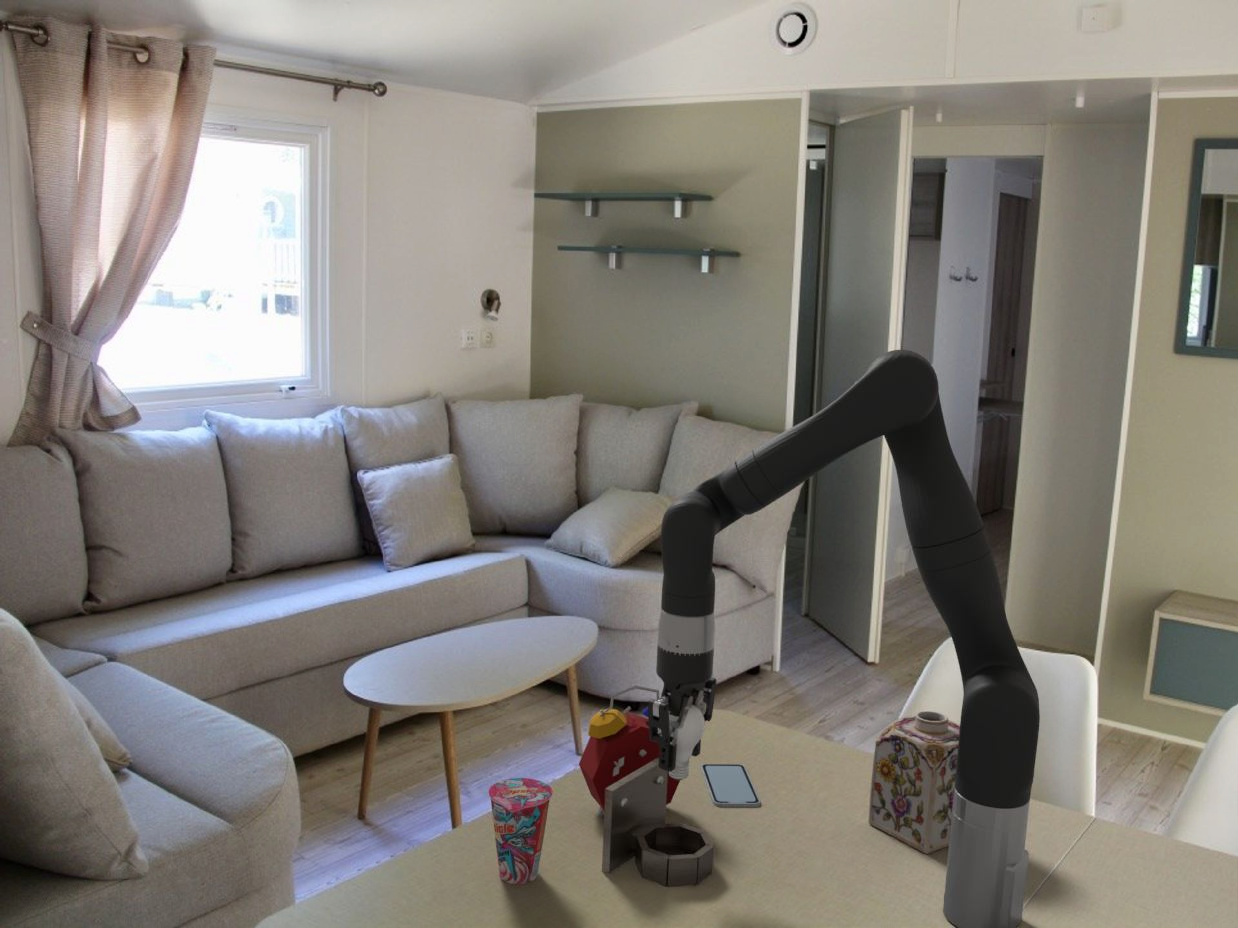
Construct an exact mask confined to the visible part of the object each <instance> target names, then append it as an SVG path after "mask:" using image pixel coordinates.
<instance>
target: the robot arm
mask: <svg viewBox="0 0 1238 928" xmlns="http://www.w3.org/2000/svg"><path fill="white" fill-rule="evenodd" d="M935 370H936V369H935V368H934V367H933V365H932V364H931V362H930V361H928V359H926V358H925V356H922V355H921V354H919V353H918V352H915V351H912V350H909V349H893V350H890V351H889V350H888V351H886V352H885V353H883V354H881V355H880V356H878V357H877V358H876V359H874V360H873V362H871V364H870V365H869V366H868V367H867V369H866V371H865V373H864V374H863V375H862V376H860V378H859V379H858V380H857V381H856V382H855V383H854V384H853V385H851V386H850V387H849V388H848V389H847V390H846V391H845V392H844V393H843V394H842V395H840V396H839V397H838V398H836V399H835V400H834V401H832V402H831V403H830V404H829V405H827V406H826V407H824V408H822V409H821V410H819V411H818V412H816V413H815V414H813V415H812V416H810V417H808V418H807V419H804V420H803V421H801V422H799V423H798V424H795V425H794V426H792V427H790V428H787V429H786V430H785V431H782V432H781V433H779V434H777V435H775V436H774V437H771V438H770V439H768V440H766V441H765V442H763V443H762V444H760V445H758V446H756V447H755V448H753V449H752V450H751V451H749V452H747V453H746V454H744V455H743V456H742V457H740V458H738V459H737V460H736V461H734V462H733V463H731V464H729V465H728V466H727V467H726V468H724V469H723V470H722V471H721V472H719V473H717V474H715V475H713V476H711V477H709V478H707V479H705V480H704V481H702V482H700V483H698V484H697V485H695V486H693V487H691V488H690V489H688V490H687V491H685V492H684V493H682V494H680V495H679V496H678V497H677V498H675V500H673V502H672V503H671V505H669V506H668V508H667V509H666V511H665V512H664V514H663V518H662V520H661V528H660V529H661V530H660V546H661V547H660V548H661V549H660V551H661V561H662V570H663V576H662V577H663V578H662V584H661V585H662V586H661V587H662V588H661V600H660V601H661V602H660V603H661V604H660V607H661V608H660V613H659V620H658V627H657V647H656V665H655V666H656V669H655V672H656V674H657V676H658V677H659V678H660V679H661V680H662V682H663V687H662V691H661V695H660V697H659V700H657V699H656V700H655V699H650V700H649V701H648V703H647V706H648V717H647V718H648V719H649V739H650V741H653V742H656V743H659V767H660V768H661V769H663V770H666V771H669V772H671V771H673V770H674V769H675V766H676V747H677V745H676V742H677V738H678V729H681V728H682V727H683V725H684V722H685V719H686V717H687V714H688V710H689V709H690V708H691V706H692V705H695V706H696V707H698V709H699V710H700V711H701V713H702V714H703V717H704V721H705V722H710V721H711V720H712V718H713V711H714V706H715V705H714V704H715V696H716V688H717V679H716V678H714V677H713V671H714V655H715V654H714V653H715V651H714V650H715V638H716V636H715V635H716V633H715V632H716V624H715V623H716V622H715V604H716V603H715V601H716V599H715V598H716V577H715V573H714V570H713V560H714V559H713V558H714V545H715V538H716V535H718V534H719V533H720V532H722V531H723V530H724V529H726V528H728V527H729V526H731V525H732V524H734V523H736V522H737V521H738V520H740V519H741V518H743V517H745V516H747V515H748V516H749V515H753V514H755V513H758V512H759V511H761V510H763V509H765V508H766V507H768V506H769V505H771V504H772V503H774V502H775V501H777V500H779V499H780V498H782V497H784V496H785V495H787V494H788V493H789V492H791V491H793V490H794V489H796V488H797V487H799V486H800V485H801V484H803V483H804V482H806V481H807V480H809V479H811V478H812V477H813V476H815V475H816V474H817V473H819V472H820V471H822V470H823V469H824V468H826V467H827V466H829V465H831V464H832V463H834V462H835V461H837V460H839V459H840V458H842V457H843V456H845V455H847V454H849V453H850V452H852V451H854V450H856V449H857V448H860V447H862V446H863V445H866V444H867V443H870V442H871V441H874V440H875V439H878V438H880V437H883V436H884V439H885V442H886V445H887V446H888V448H889V452H890V454H891V457H892V460H893V463H894V466H895V471H896V477H897V480H898V488H899V489H898V490H899V495H900V502H901V503H900V504H901V507H902V512H903V513H902V514H903V518H904V522H905V524H904V525H905V527H906V531H907V535H908V540H909V542H910V543H909V544H910V546H911V549H912V554H913V556H914V559H915V562H916V566H917V568H918V571H919V575H920V576H921V579H922V582H923V584H924V586H925V588H926V591H927V593H928V595H929V597H930V599H931V600H932V602H933V605H934V607H935V608H936V610H937V612H938V613H939V614H940V616H941V618H942V620H943V622H944V624H945V625H946V627H947V630H948V631H949V635H950V637H951V641H952V643H953V645H954V650H955V653H956V658H957V661H958V665H959V670H960V671H959V672H960V676H961V682H962V691H963V697H962V704H961V713H960V723H959V725H960V732H959V743H958V755H957V763H956V778H955V788H954V799H953V809H952V819H951V830H950V841H949V846H948V852H947V854H948V855H947V865H946V875H945V884H944V893H943V909H942V912H943V914H944V917H945V918H946V919H947V921H948V922H950V923H951V924H952V925H954V926H955V927H957V928H1017V926H1019V924H1020V922H1021V921H1022V919H1023V911H1024V903H1025V901H1024V900H1025V893H1026V882H1027V875H1028V864H1029V855H1030V854H1029V853H1030V852H1029V851H1028V850H1026V849H1025V848H1026V839H1027V829H1028V820H1029V812H1030V811H1029V810H1030V801H1031V793H1032V786H1033V783H1034V779H1035V778H1034V776H1035V767H1036V761H1037V759H1036V758H1037V752H1038V751H1037V750H1038V741H1039V731H1040V719H1041V716H1040V714H1041V713H1040V699H1039V694H1038V689H1037V687H1036V685H1035V683H1034V681H1033V679H1032V676H1031V675H1030V672H1029V670H1028V668H1027V666H1026V663H1025V661H1024V660H1023V657H1022V655H1021V652H1020V650H1019V647H1018V645H1017V643H1016V640H1015V638H1014V635H1013V632H1012V630H1011V628H1010V624H1009V621H1008V617H1007V614H1006V608H1005V603H1004V598H1003V591H1002V587H1001V582H1000V577H999V574H998V570H997V566H996V562H995V558H994V554H993V550H992V548H991V544H990V541H989V538H988V537H989V536H988V534H987V531H986V529H985V526H984V522H983V518H982V516H981V514H980V511H979V508H978V507H977V506H978V505H977V503H976V501H975V498H974V496H973V494H972V491H971V489H970V487H969V485H968V482H967V481H966V478H965V476H964V473H963V471H962V470H961V468H960V465H959V462H958V461H957V459H956V456H955V455H954V451H953V449H952V445H951V442H950V440H949V435H948V432H947V428H946V423H945V418H944V413H943V409H942V404H941V398H940V397H941V396H940V393H939V388H940V387H939V381H938V380H939V379H938V375H937V373H936V371H935ZM705 706H706V707H705ZM669 715H673V716H676V717H679V718H678V720H677V721H672V720H669ZM669 726H672V732H671V736H670V731H669ZM657 728H659V730H658V733H657ZM701 744H702V738H701V739H700V740H699V742H698V743H697V744H696V746H695V747H694V749H693V752H692V756H691V757H697V756H700V754H701Z"/></svg>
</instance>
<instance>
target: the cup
mask: <svg viewBox="0 0 1238 928" xmlns="http://www.w3.org/2000/svg"><path fill="white" fill-rule="evenodd" d="M488 789H489V790H488V797H489V799H490V803H491V811H492V820H493V828H494V829H493V830H494V839H495V840H494V841H495V846H496V847H495V848H496V854H497V856H496V857H497V864H498V871H499V872H498V873H499V874H498V875H499V878H500V879H501V880H503V881H504V882H506V883H508V884H514V885H523V884H524V885H525V884H529V883H531V882H534V881H535V879H537V878H538V875H539V868H540V862H541V855H542V851H543V844H544V837H545V833H546V832H545V831H546V824H547V819H548V811H549V806H550V799H551V798H552V796H553V791H554V790H553V789H552V787H551V786H550V785H549V784H548V783H546V782H543V781H542V780H539V779H535V778H527V777H514V778H505V779H503V780H500V781H498V782H496V783H494V784H492V785H491V786H490V787H489V788H488Z"/></svg>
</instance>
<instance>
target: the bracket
mask: <svg viewBox="0 0 1238 928" xmlns="http://www.w3.org/2000/svg"><path fill="white" fill-rule="evenodd" d="M667 778H668V771H666V770H663V769H661V768H660V767H659V757H658V758H656V759H655V760H653V761H651V762H650V763H648V764H646V765H644V766H643V767H641V768H639V769H638V770H636V771H634V772H633V773H631V774H629V775H627V776H626V777H624V778H622V779H621V780H619V781H617V782H615V783H614V784H612V785H610V786H609V787H607V788H605V807H604V814H603V834H602V837H603V838H602V859H601V872H603V873H604V874H605V873H606V874H608V875H610V874H612V873H613V872H615V871H616V870H617V869H619V868H620V867H622V866H623V865H625V864H626V863H627V862H629V861H631V860H632V859H633V858H634V863H635V866H636V869H637V871H638V874H639V876H640V878H641V879H645V880H647V881H650V882H652V883H655V884H657V885H660V886H663V887H665V888H666V887H667V888H675V887H690V886H691V887H692V886H693V887H694V886H698V885H700V884H701V883H703V881H705V880H706V879H708V877H710V876H711V875H712V874H713V870H714V869H713V868H714V866H713V864H714V852H715V850H714V849H715V845H714V843H713V841H712V840H711V837H710V836H709V834H708V832H707V831H706V830H702V829H700V828H697V827H695V826H691V825H688V824H685V823H682V822H675V823H674V822H673V823H672V822H671V823H666V818H667V817H666V815H667V814H666V812H667V805H666V797H667Z"/></svg>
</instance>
